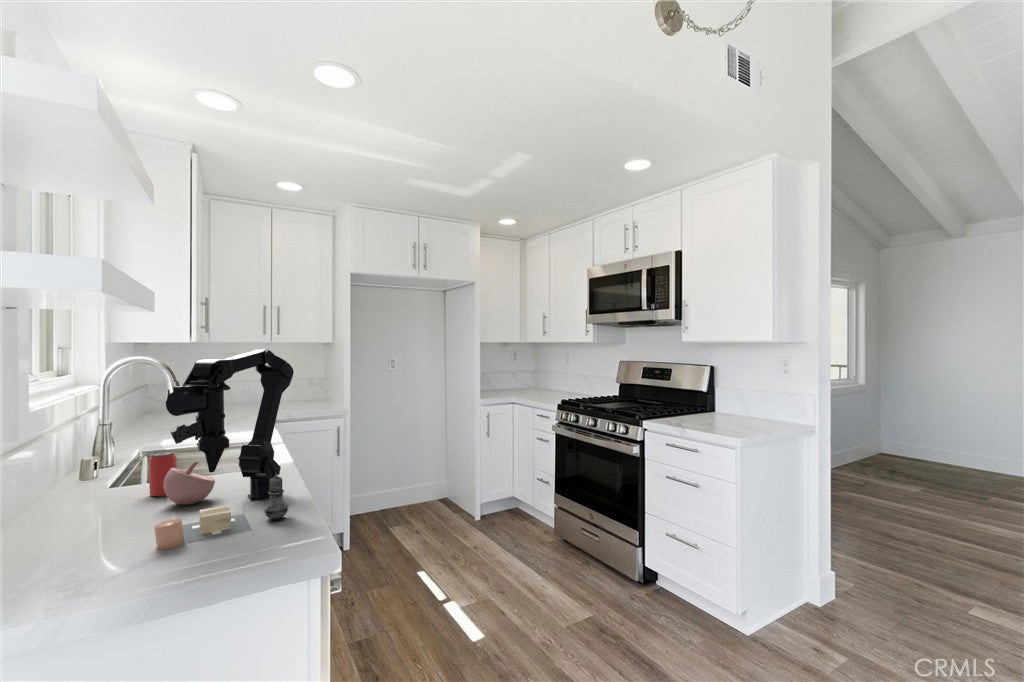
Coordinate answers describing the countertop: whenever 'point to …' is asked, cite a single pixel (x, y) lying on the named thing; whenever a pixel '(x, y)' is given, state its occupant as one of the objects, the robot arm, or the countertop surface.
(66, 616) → the countertop surface
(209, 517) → the maple block
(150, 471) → the beer can
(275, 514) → the salt shaker
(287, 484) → the countertop surface
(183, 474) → the mortar and pestle
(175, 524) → the terracotta cylinder
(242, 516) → the letter mat
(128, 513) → the countertop surface
